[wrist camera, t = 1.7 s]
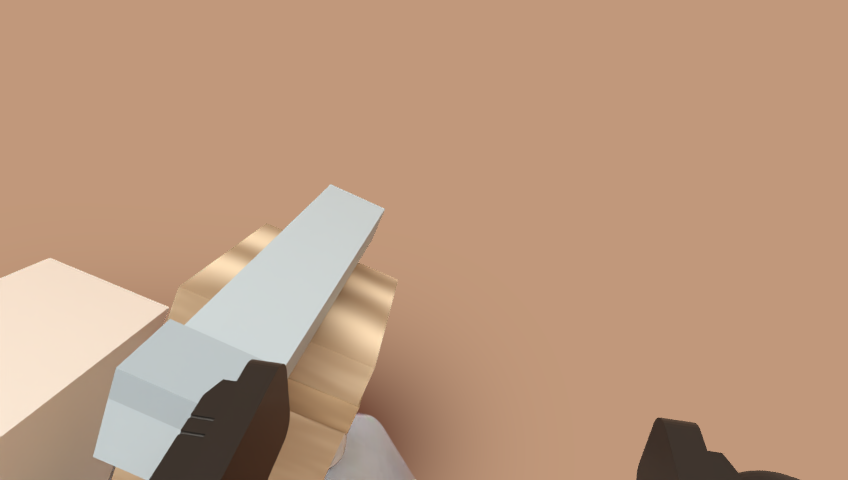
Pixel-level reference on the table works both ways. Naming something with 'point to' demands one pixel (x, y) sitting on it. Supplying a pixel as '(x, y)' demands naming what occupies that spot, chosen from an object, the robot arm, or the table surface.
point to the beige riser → (62, 367)
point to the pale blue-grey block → (235, 329)
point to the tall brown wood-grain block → (309, 357)
